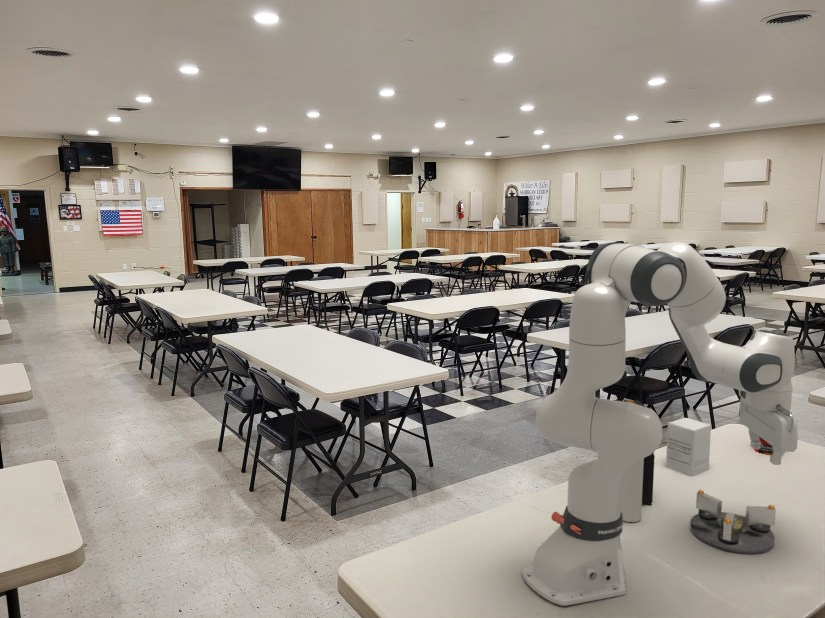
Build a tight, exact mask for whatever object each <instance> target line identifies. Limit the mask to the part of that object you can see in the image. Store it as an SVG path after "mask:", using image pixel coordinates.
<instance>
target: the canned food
mask: <svg viewBox="0 0 825 618" xmlns="http://www.w3.org/2000/svg"><path fill="white" fill-rule="evenodd" d="M759 440H760V442H761V448H760V449H754V450H755V451H754V450H753V451H754V452H756V453H757V452H758V454H760V453H761V455H764V454H765V455H764V456H770V455H772V454H773V452H774V450H773V446H772V445H770V444H769V443H768V442H766V441H765V440H764V439H762V438H761V437H760V436H759Z"/></svg>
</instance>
